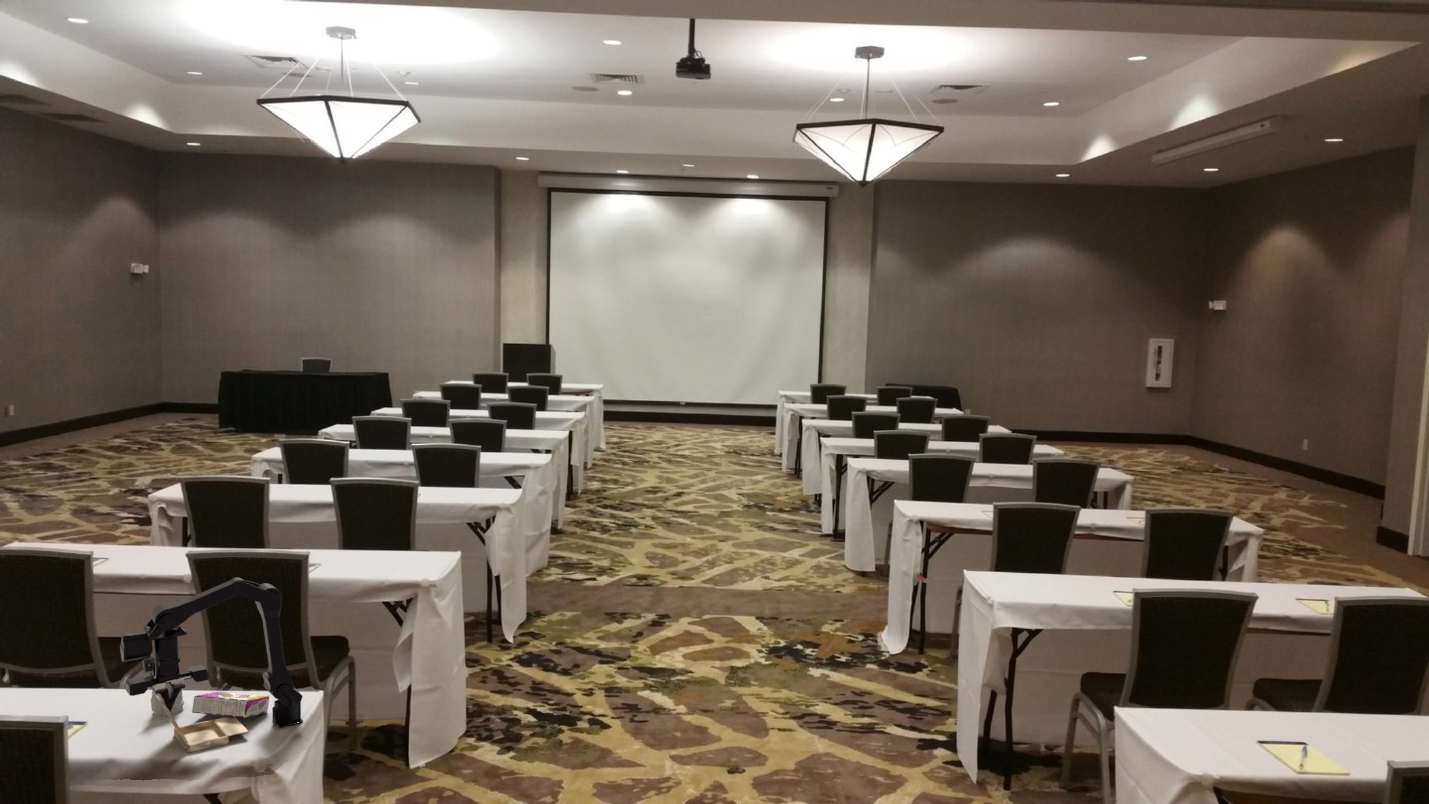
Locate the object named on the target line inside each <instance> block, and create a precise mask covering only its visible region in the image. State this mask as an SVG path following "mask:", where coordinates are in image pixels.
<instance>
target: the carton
mask: <svg viewBox="0 0 1429 804" xmlns="http://www.w3.org/2000/svg"><path fill="white" fill-rule="evenodd" d="M179 728H180V730H181V731H182V733H183V735H184V736H185V738H186V740H187V741H188V743H187V742H186V741H185V740H184V738H183V737H182V736H181V735H180V733H179V732H178V731H177V730H176V729H175V727H173V736H174V738H176V740H177V741H178V742H179V743H180V745H181V746H182V747H183V748H184V750H185V751H186V752H187V753H192V752H197V751H201V750H206V749H210V748H215V747H219V746H223V745H227V744H230V737H232V736H236V735H241V734H246V733H249V730H248V729H247V728H246V727H245V726H244V725H243V724H242V723H241V722H240V721H239V720H238V719H237V717H233V716H224V717H221V718H216V719H210V720H205V721H201V722H196V723H192V724H186V725H183V726H179Z"/></svg>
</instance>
